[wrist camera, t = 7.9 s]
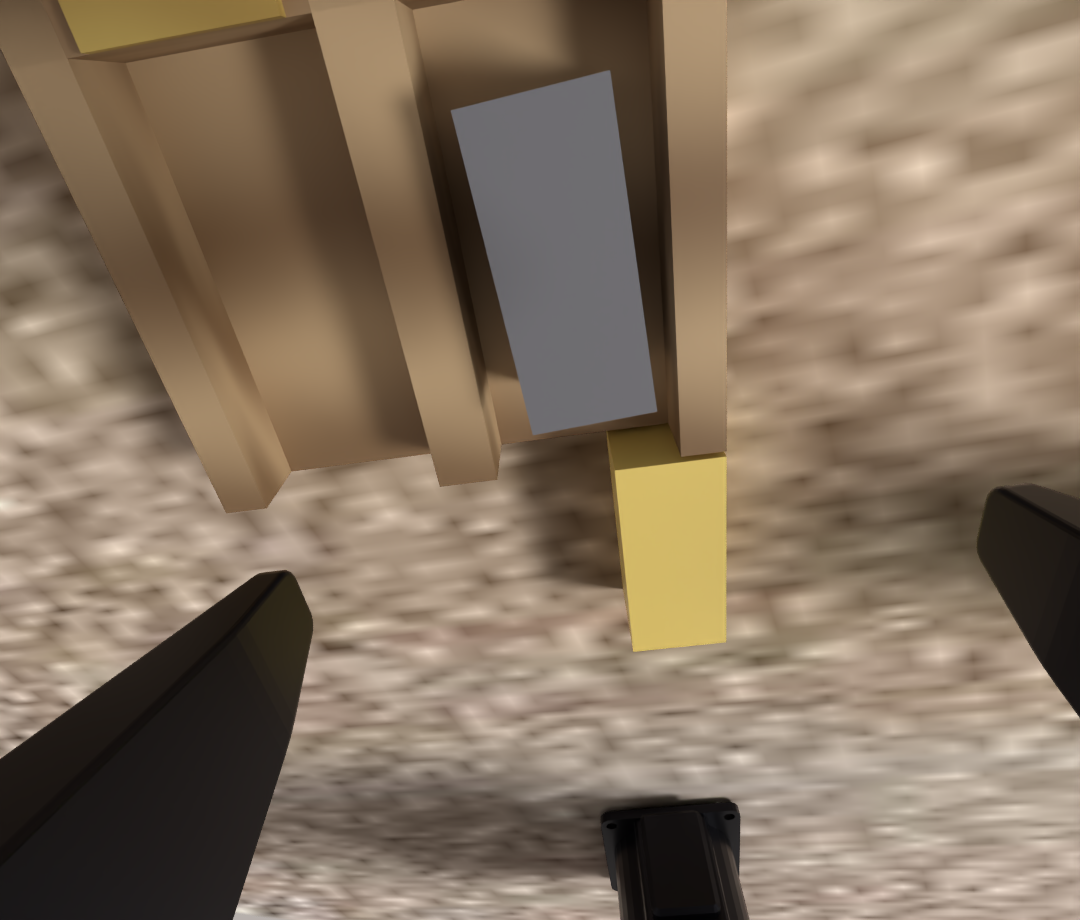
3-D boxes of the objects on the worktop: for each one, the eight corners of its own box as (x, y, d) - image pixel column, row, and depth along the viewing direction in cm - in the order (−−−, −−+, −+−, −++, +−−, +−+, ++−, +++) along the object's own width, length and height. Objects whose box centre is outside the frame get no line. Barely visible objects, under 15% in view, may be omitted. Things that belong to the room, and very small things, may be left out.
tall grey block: (639, 361, 18) (657, 411, 15) (534, 382, 18) (532, 435, 15) (596, 75, 14) (609, 69, 11) (468, 107, 14) (450, 110, 12)
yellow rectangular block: (704, 576, 23) (726, 642, 20) (622, 585, 23) (633, 651, 21) (700, 405, 20) (726, 456, 17) (604, 417, 20) (614, 470, 17)
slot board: (701, 403, 19) (729, 456, 16) (266, 460, 20) (221, 519, 18) (691, -107, 13) (731, -161, 10) (76, 12, 14) (-39, -8, 12)
